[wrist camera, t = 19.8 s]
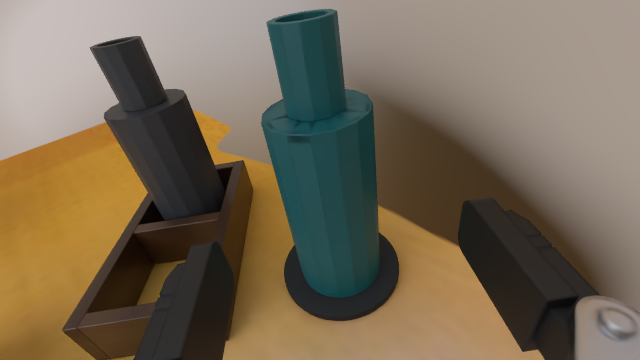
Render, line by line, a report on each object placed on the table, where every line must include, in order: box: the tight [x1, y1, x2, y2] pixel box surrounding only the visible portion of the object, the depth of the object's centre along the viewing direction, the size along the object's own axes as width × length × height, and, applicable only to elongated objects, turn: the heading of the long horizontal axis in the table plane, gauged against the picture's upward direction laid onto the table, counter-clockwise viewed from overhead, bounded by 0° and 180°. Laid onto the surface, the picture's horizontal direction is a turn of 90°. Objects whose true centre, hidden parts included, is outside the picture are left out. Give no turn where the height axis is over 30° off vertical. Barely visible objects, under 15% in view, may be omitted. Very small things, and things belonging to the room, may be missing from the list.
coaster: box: [284, 233, 399, 320], centre depth 24 cm, size 9×9×1 cm
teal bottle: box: [261, 9, 380, 298], centre depth 19 cm, size 6×6×18 cm
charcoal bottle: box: [90, 36, 226, 221], centre depth 26 cm, size 6×6×18 cm
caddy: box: [62, 160, 253, 360], centre depth 27 cm, size 9×17×4 cm, turn 5°
